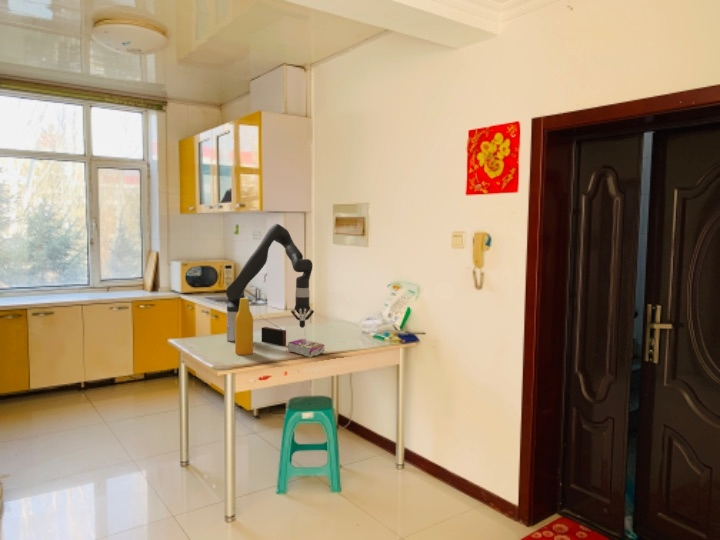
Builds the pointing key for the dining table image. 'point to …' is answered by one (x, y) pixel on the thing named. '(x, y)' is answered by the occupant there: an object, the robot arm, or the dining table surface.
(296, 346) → the candy bar box
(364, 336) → the dining table surface
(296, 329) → the dining table surface
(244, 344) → the beer bottle
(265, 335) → the radio
